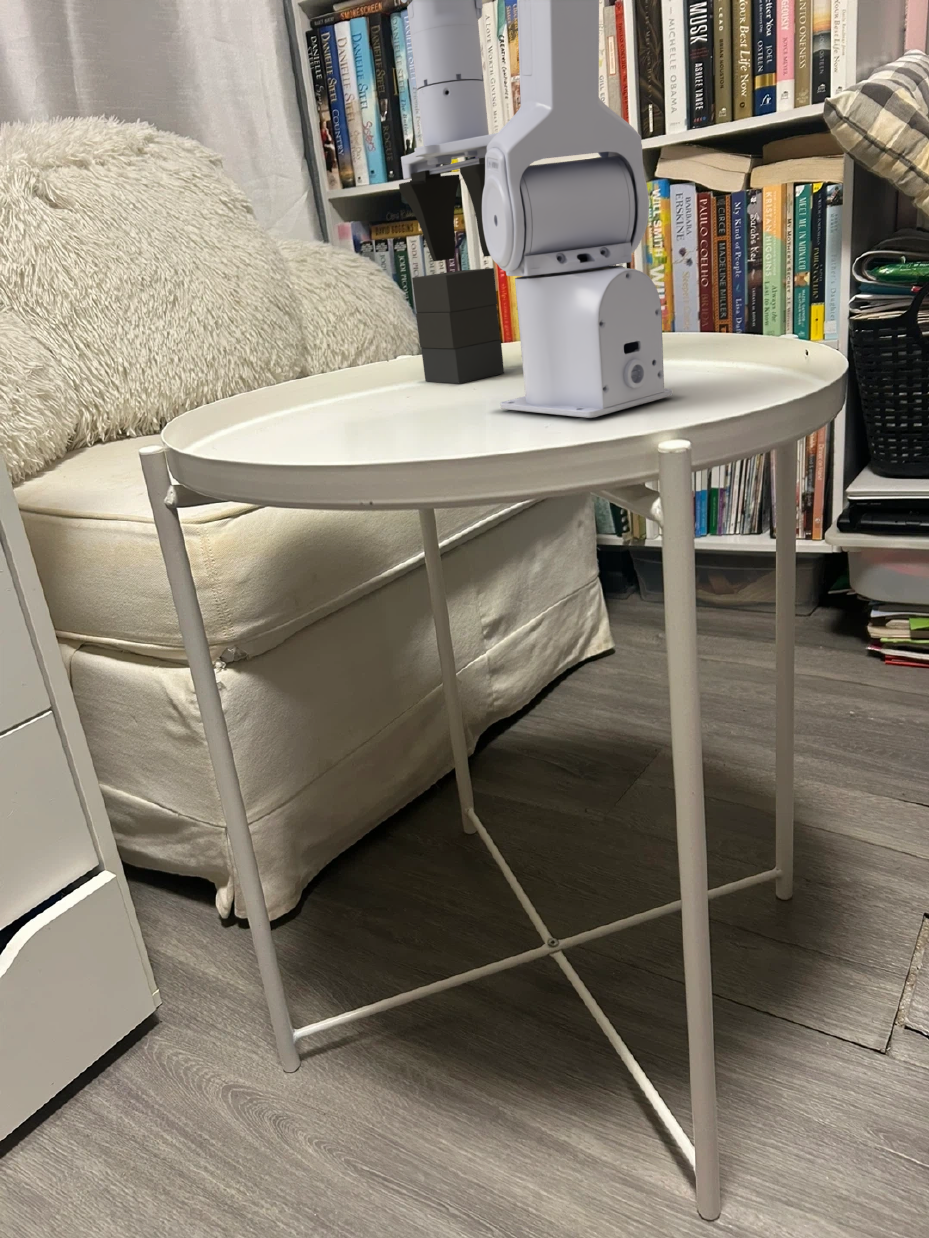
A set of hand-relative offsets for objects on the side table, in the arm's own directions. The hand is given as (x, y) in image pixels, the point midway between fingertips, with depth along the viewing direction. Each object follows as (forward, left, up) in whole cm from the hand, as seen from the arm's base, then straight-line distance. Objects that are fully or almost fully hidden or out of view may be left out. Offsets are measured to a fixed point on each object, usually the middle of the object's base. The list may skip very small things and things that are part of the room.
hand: (468, 258), depth 85 cm
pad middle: (-2, +3, -7) cm, 8 cm away
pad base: (-2, +3, -10) cm, 11 cm away
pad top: (-2, +3, -4) cm, 5 cm away
